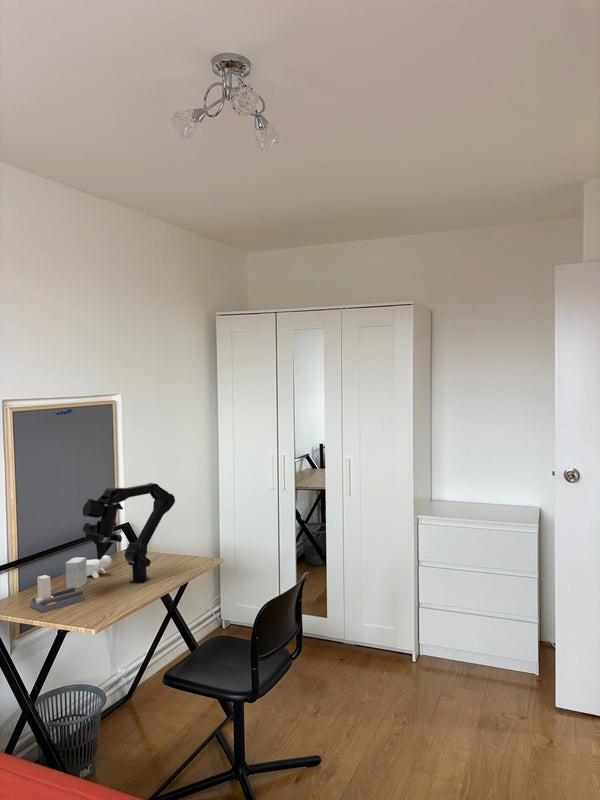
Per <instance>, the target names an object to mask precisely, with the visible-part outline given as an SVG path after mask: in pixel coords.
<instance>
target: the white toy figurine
mask: <svg viewBox="0 0 600 800" xmlns="http://www.w3.org/2000/svg"><path fill="white" fill-rule="evenodd" d="M86 561H87V577H90V576H92V577H93V578H94V579H96V580H97V579H99V578H100V575H99V573H100V574H105V573H106V571H105V569H104V568H107V567H109V566H111V564H112V558H111V556H109V555H105V554H104V556H103V557H102V559H100V560H99V559H98V558H95V559H86Z"/></svg>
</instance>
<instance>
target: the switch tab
mask: <svg viewBox="0 0 600 800" xmlns="http://www.w3.org/2000/svg"><path fill="white" fill-rule="evenodd" d="M36 578H37V581H36V582H37V596H38V598H35V602H36V603H38V604H39V601H42V600H46V599H50V598H53V596H51V593H52V590H51V589H52V587H51V576H49V575H47V574H44V575H40V576H36Z"/></svg>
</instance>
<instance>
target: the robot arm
mask: <svg viewBox="0 0 600 800" xmlns="http://www.w3.org/2000/svg"><path fill="white" fill-rule="evenodd" d="M143 495H150V496H151V498H152V499H154V501H153V507H152V508H153V510H152V511H151V513H150V515H149V517H148V519H147V521H146V522H145V524H144V526H143V528H142V530H141V531H140V533H139V535H138V537H137V539H136V540H135V541H134V542H132V541H130V542H129V543H128V545H127V547H126V549H124V555H123V556H124V559H125V561H126V562H127V564H128V566H131V568H132V569H131V571H132V575H131V577H132V579H130V580H129V583H138V584H139V583H141V584H142V583H145V582H147V581H148V580H150V578H151V577H150V576H147V573H148V571H147V568H148V567H150V566H151V562H152V561H151V559H149V558H148V557H147V554H148V546H149V543H150V541H151V539H152V537H153V535H154V533H155V532H156V529H157V528H158V526H159V525H160V522H161V520H162V518H163V516H164V515H165V514H167V512H170V510H171V508H172V507H173V506H174V505H175V503H176V498H175V496H174V494H173V493H169V492H168V490H165V489H164V488H162V487H161V486H160V485H159V484H158V483H153V482H148V483H146V484H140V485H133V486H130V487H107V488H106V489H105V490H104V492H103V493H102V495H101V496H100V497H99V498H97V499H96V500H95V499H93V498H88V499H87V501H86V502H85V504H84V505H83V507H82V515H83V516H84V517H88V518H96V519H99V518H100V519H99V520H97V522H96V524H91V523H90V522H86V523H84V524H83V527H82V531H83V532H84V540H88V541H91V542H93V543H94V544H95V547H96V557H97V558H96V559H98V560H100V559H102V557H103V556H104V555H105V554H106V553H107V552H108V550H110V548H111V547H112V545H114V542H117V543H122V540H123V537H122V534H119V533H118V534H117V533H113V532H114V528H115V526H116V527H117V523H116V519H117V516H118V515H117V514H118V510H120V511H121V510H124V508H123V506H122V505H121V503H122V502H124V501H126V500H127V499H129V498H132V497H133V498H134V497H138V496H143ZM112 541H113V542H112Z"/></svg>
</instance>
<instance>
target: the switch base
mask: <svg viewBox="0 0 600 800" xmlns="http://www.w3.org/2000/svg"><path fill="white" fill-rule="evenodd" d="M51 596H53V598H50V599H46V600H42V601H39V604H38V603H36V602H35V598H38V595H37V596H34V597H31V601H30V608H33V609H35V610H37V611H39V612H41V613H47V612H49V611H53V610H57V609H60V608H64V607H67V606H71V605H74V604H77V603H81V602H85V600H86V596H85V594H84V590H83V589H79V590H76V588H75V587H71V588H67V587H66V588H64V589H59V590H57V591H53V592H52V591H51Z"/></svg>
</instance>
